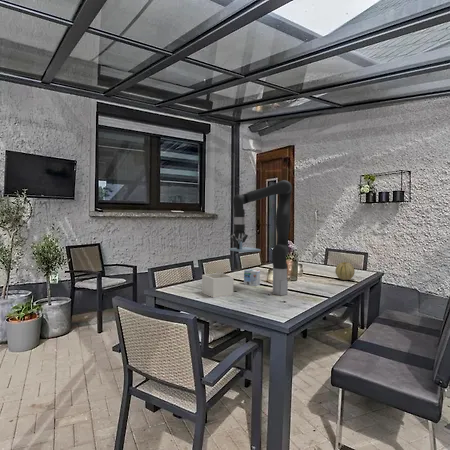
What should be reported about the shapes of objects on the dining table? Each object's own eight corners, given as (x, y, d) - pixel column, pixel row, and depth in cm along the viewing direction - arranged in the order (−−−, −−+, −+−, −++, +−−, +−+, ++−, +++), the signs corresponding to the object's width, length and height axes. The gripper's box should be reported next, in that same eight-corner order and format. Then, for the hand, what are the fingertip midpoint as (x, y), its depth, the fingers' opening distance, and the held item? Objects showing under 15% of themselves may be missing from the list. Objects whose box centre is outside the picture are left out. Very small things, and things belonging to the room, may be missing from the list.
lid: (260, 250, 232) (260, 241, 232) (241, 252, 224) (241, 242, 223) (246, 248, 246) (247, 239, 246) (228, 250, 237) (228, 240, 237)
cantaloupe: (351, 278, 280) (352, 260, 279) (356, 282, 265) (357, 263, 264) (333, 277, 281) (333, 260, 280) (337, 281, 266) (337, 262, 266)
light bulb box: (243, 284, 251) (243, 270, 250) (247, 282, 257) (247, 268, 256) (256, 286, 246) (257, 271, 245) (260, 284, 252) (260, 270, 251)
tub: (233, 295, 219) (233, 276, 218) (213, 297, 211) (213, 278, 211) (221, 290, 232) (221, 272, 231) (201, 292, 224) (202, 274, 223)
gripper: (234, 224, 225) (234, 249, 225) (250, 223, 232) (250, 248, 233) (228, 223, 231) (228, 248, 232) (244, 223, 238) (244, 247, 239)
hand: (239, 248), depth 232 cm, fingers closed on lid, 1 cm apart
